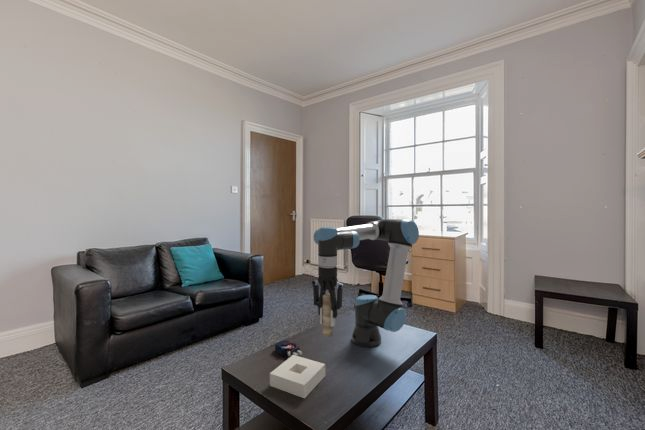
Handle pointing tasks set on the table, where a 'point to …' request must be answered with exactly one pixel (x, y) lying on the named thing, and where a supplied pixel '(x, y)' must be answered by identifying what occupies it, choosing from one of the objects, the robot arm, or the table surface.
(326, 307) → the dowel
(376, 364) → the table surface
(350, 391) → the table surface
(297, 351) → the figurine
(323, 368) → the socket block
